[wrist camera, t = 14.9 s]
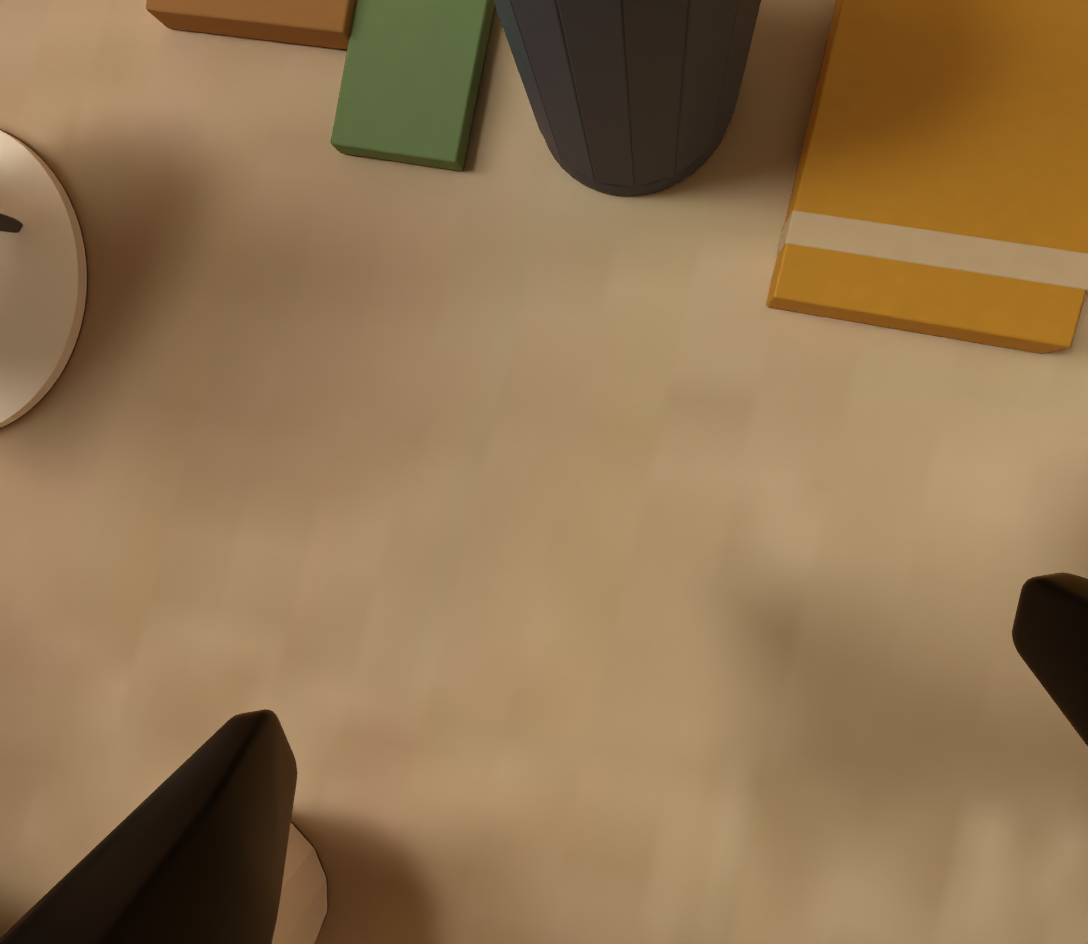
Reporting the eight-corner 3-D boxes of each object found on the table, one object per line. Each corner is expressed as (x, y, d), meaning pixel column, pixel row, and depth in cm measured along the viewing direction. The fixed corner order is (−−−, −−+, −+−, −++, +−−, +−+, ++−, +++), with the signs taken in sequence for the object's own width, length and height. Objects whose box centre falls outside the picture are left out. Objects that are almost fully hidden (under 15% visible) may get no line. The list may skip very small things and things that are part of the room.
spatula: (515, -95, 19) (508, -125, 18) (463, 172, 20) (453, 157, 19) (191, -120, 21) (168, -148, 20) (152, 126, 22) (128, 110, 21)
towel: (1156, -66, 16) (1196, -108, 15) (1044, 354, 17) (1074, 347, 16) (856, -88, 18) (871, -129, 16) (764, 306, 18) (772, 296, 17)
